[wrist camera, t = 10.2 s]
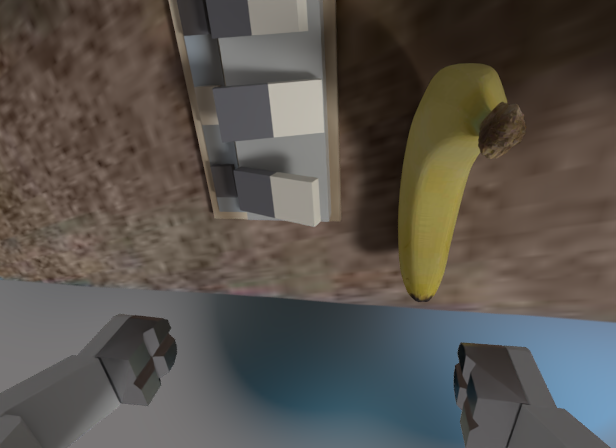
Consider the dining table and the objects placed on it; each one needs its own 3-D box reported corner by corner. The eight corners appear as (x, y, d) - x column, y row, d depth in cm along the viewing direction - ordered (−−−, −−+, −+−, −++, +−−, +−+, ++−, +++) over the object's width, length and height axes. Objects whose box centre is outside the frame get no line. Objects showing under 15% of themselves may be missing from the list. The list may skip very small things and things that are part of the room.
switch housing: (320, -59, 28) (316, -65, 26) (331, 213, 39) (328, 221, 38) (214, -46, 30) (203, -51, 28) (253, 211, 41) (248, 219, 39)
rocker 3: (325, 173, 33) (311, 182, 31) (327, 215, 35) (314, 227, 33) (249, 162, 37) (233, 170, 35) (255, 201, 39) (240, 210, 37)
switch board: (334, -74, 28) (331, -81, 27) (341, 217, 41) (339, 225, 39) (163, -52, 31) (150, -56, 29) (218, 214, 43) (211, 222, 42)
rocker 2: (317, 76, 32) (321, 79, 30) (319, 126, 34) (324, 132, 32) (215, 85, 31) (212, 89, 29) (224, 135, 33) (222, 142, 31)
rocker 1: (314, -41, 25) (293, -45, 23) (317, 30, 27) (298, 31, 25) (224, -23, 30) (201, -25, 28) (233, 37, 32) (212, 38, 30)
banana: (440, 268, 41) (483, 439, 24) (389, 264, 42) (395, 425, 25) (481, 53, 31) (610, 84, 13) (411, 54, 32) (448, 84, 14)
